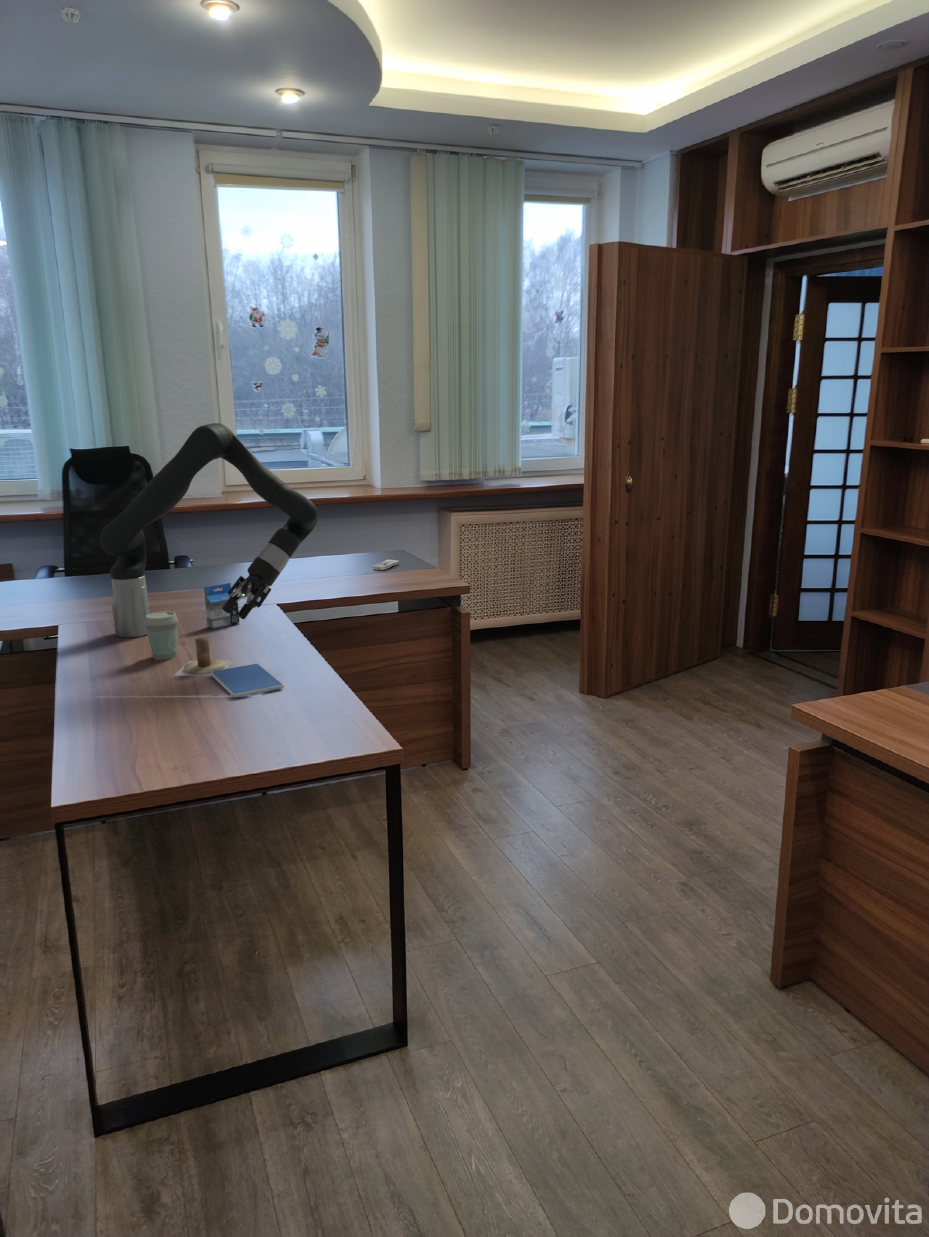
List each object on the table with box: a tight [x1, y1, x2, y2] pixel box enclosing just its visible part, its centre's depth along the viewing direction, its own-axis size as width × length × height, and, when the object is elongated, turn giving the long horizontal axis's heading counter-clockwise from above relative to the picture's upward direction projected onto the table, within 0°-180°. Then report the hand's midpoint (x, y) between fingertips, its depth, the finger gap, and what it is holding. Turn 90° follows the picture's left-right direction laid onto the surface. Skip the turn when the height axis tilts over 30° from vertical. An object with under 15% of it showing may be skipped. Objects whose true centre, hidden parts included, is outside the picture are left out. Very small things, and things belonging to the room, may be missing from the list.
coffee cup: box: [144, 610, 179, 661], centre depth 234 cm, size 9×9×12 cm
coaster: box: [173, 660, 235, 677], centre depth 225 cm, size 12×12×1 cm
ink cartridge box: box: [203, 582, 241, 630], centre depth 264 cm, size 9×4×12 cm, turn 131°
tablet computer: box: [210, 663, 285, 698], centre depth 214 cm, size 19×13×1 cm, turn 32°
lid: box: [183, 636, 225, 674], centre depth 224 cm, size 10×10×8 cm
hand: (232, 614), depth 228 cm, fingers open, 8 cm apart
